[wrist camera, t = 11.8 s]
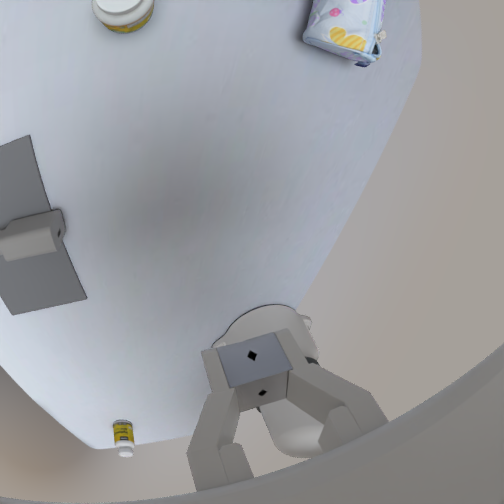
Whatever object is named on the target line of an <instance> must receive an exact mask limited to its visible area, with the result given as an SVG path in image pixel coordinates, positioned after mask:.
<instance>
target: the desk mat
mask: <svg viewBox="0 0 504 504" xmlns="http://www.w3.org/2000/svg"><path fill="white" fill-rule="evenodd" d="M50 211H52V210H51V207H50V204H49V201H48V198H47V195H46V192H45V189H44V186H43V182H42V179H41V176H40V172H39V169H38V165H37V161H36V158H35V154H34V150H33V146H32V142H31V137H30V135H28V136H25V137H22V138H20V139H17V140H15V141H12V142H10V143H7V144H5V145H2V146H0V231H1V230H5V229H6V227H7V226H8V224H9V223H10V221H13V220H17V219H21V218H25V217H29V216H33V215H37V214H42V213H46V212H50ZM0 296H1V298H2V300H3V301H4V303H5V305H6V306H7V308H8V309H9V311H10V313H11V314H12V315H17V314H22V313H26V312H31V311H36V310H40V309H45V308H49V307H54V306H59V305H63V304H68V303H72V302H77V301H81V300H86V299H87V296H86V294H85V292H84V290H83V287H82V285H81V283H80V281H79V279H78V276H77V274H76V272H75V270H74V267H73V265H72V263H71V260H70V258H69V255H68V253H67V250H66V248H65V245H64V243H63V240H62V242H61V245H60V248H59V251H56V252H51V253H46V254H41V255H36V256H31V257H27V258H22V259H17V260H12V261H6V260H5V258H4V256H3V255H0Z"/></svg>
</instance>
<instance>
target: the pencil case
mask: <svg viewBox="0 0 504 504" xmlns="http://www.w3.org/2000/svg"><path fill="white" fill-rule="evenodd" d="M385 5H386V0H314V1H313V6H312V9H311V13H310V16H309V21H308V26H307V29H306V30H305V31H304V33H303V41H304V42H305V43H307V44H310V45H313V46H317V47H319V48H322V49H324V50H326V51H329V52H331V53H334V54H336V55H339V56H342V57H344V58H347V59H350V60H354V61H358V63H356V64H355V65H356V66H361V67H367V66H368V65H369V64H370V63H373V62H375V61H377V60H378V59H379V58H380V56H381V47H380V45H379V43H381V41H382V39H385V38H386V32H385V30H382V31H381V27H382V22H383V17H384V10H385ZM380 31H381V32H380Z"/></svg>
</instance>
